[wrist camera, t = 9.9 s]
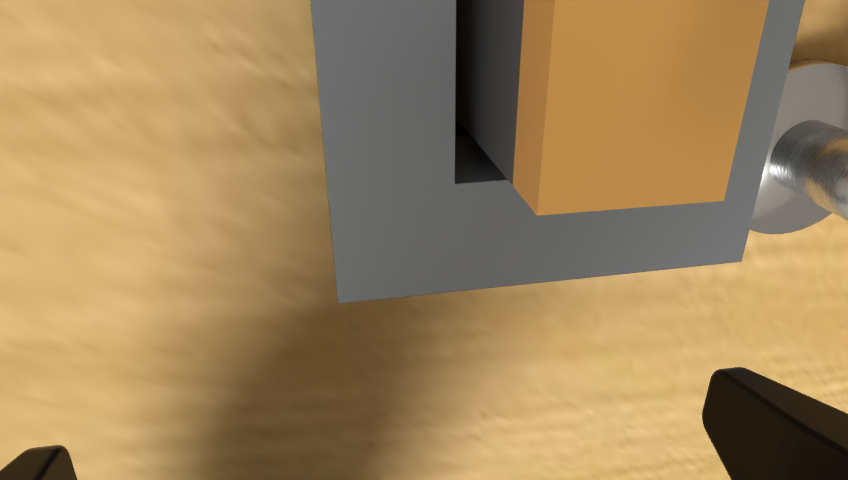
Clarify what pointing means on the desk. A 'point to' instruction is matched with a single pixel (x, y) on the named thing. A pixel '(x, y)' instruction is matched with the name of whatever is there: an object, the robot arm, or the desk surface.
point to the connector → (607, 96)
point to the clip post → (806, 151)
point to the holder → (489, 169)
